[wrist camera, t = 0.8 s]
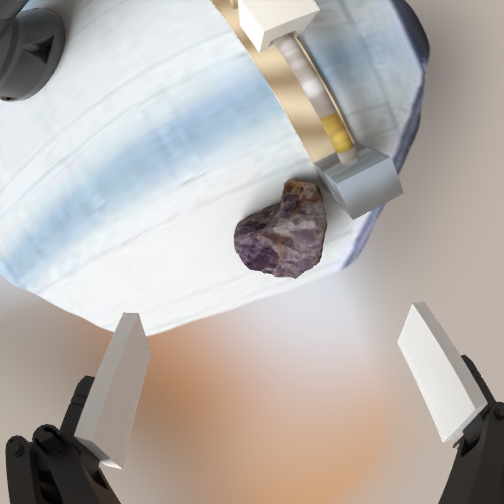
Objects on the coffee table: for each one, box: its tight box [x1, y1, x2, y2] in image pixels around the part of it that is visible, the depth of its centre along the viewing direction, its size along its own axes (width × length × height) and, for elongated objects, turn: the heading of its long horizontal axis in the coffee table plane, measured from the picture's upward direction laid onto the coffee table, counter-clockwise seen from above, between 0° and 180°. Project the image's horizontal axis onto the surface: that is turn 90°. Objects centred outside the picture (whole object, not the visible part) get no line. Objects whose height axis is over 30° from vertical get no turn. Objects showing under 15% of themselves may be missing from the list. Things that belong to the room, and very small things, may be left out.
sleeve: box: [238, 0, 320, 53], centre depth 19 cm, size 4×5×9 cm
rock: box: [234, 179, 327, 279], centre depth 35 cm, size 12×9×10 cm
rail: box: [210, 0, 403, 220], centre depth 25 cm, size 30×6×11 cm, turn 30°
